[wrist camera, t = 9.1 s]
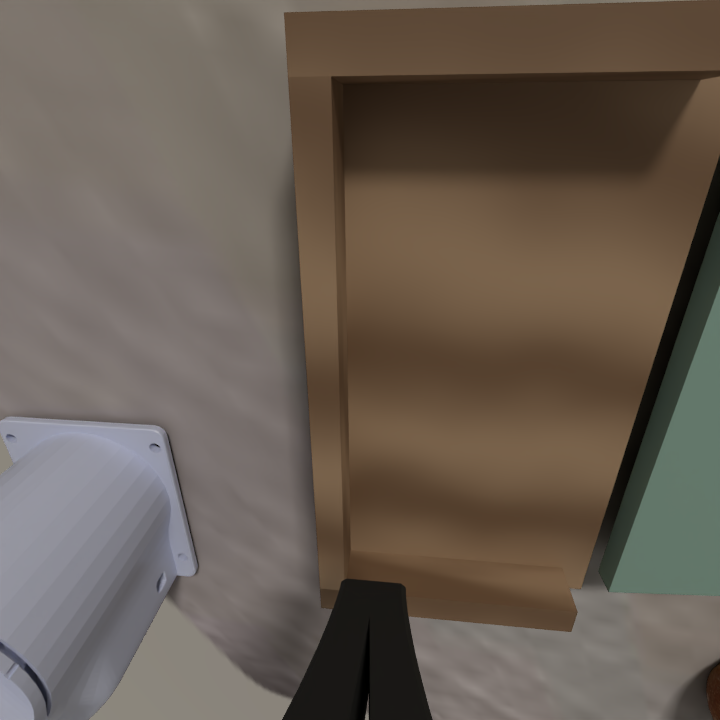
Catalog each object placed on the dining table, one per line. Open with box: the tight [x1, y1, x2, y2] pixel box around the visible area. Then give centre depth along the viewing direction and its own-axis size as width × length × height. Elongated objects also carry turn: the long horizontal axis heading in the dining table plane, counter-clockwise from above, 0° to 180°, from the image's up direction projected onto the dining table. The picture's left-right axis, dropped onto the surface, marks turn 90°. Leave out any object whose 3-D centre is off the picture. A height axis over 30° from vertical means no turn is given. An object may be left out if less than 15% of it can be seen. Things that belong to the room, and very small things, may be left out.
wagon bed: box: [284, 0, 720, 632], centre depth 16 cm, size 20×11×4 cm, turn 0°
